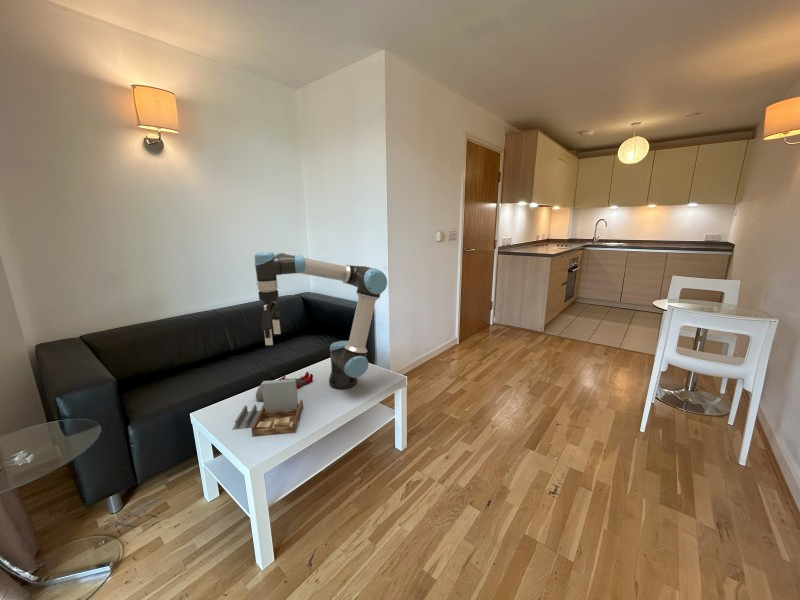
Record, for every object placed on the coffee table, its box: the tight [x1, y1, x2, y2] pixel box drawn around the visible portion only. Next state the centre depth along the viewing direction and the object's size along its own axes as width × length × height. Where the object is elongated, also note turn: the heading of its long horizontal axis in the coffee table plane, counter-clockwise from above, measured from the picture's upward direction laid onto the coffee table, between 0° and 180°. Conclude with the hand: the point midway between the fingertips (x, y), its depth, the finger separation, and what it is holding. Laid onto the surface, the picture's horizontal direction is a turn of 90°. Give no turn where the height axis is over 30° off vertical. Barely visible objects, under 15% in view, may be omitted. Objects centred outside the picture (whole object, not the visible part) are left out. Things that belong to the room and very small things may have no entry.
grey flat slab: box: [261, 378, 299, 412], centre depth 145 cm, size 14×3×16 cm, turn 97°
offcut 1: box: [256, 422, 272, 429], centre depth 135 cm, size 5×4×3 cm
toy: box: [255, 371, 314, 402], centre depth 169 cm, size 16×10×30 cm
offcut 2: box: [274, 417, 290, 428], centre depth 135 cm, size 6×4×2 cm, turn 103°
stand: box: [231, 404, 260, 431], centre depth 143 cm, size 13×8×4 cm, turn 7°
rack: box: [250, 399, 304, 437], centre depth 141 cm, size 17×19×5 cm
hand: (273, 339), depth 139 cm, fingers open, 13 cm apart
